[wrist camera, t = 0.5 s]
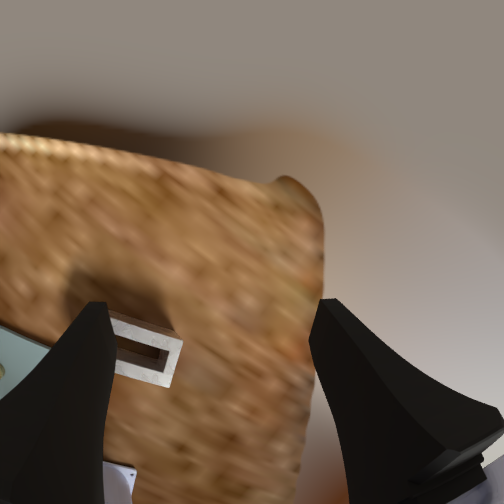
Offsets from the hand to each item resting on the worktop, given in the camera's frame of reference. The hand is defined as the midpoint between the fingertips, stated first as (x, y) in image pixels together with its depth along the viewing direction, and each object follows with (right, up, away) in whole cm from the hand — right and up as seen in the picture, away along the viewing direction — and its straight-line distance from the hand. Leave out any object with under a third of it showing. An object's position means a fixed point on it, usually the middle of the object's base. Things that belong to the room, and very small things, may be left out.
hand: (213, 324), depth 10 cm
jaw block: (-13, -7, +22) cm, 26 cm away
